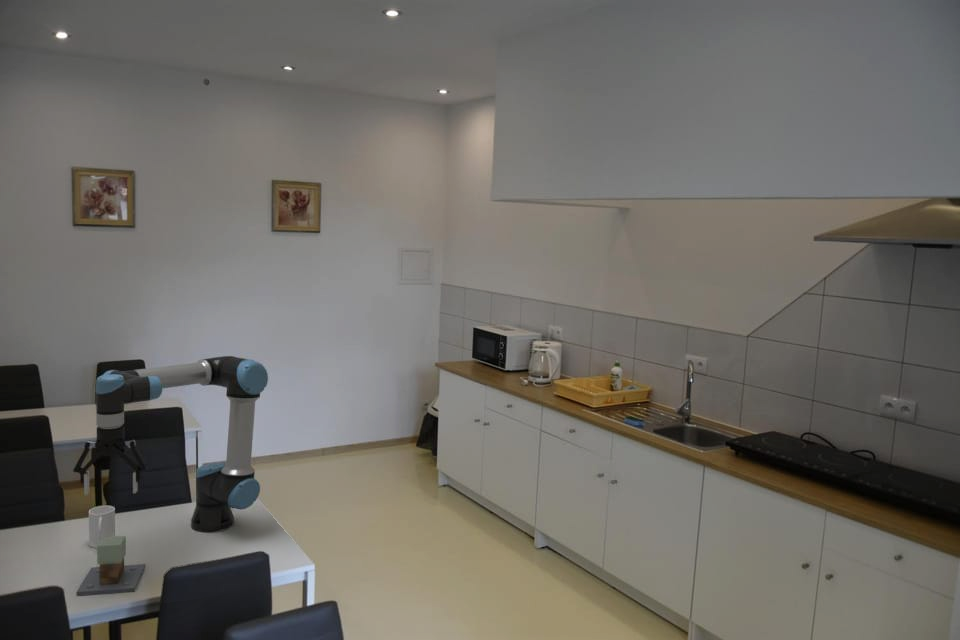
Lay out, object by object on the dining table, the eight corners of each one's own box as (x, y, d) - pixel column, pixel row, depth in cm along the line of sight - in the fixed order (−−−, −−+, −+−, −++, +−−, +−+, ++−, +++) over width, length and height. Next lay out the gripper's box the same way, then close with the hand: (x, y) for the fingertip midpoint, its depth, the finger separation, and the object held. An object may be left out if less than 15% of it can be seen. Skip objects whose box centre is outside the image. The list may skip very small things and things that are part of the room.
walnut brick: (124, 570, 227) (124, 552, 227) (117, 583, 219) (117, 565, 218) (107, 571, 226) (106, 553, 225) (99, 585, 217) (99, 566, 217)
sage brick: (125, 554, 226) (125, 535, 225) (120, 563, 219) (120, 544, 219) (103, 555, 224) (103, 537, 223) (97, 564, 218) (97, 546, 217)
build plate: (145, 567, 232) (145, 563, 232) (134, 591, 217) (134, 587, 217) (91, 570, 228) (91, 566, 228) (76, 595, 213) (76, 591, 213)
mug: (111, 551, 243) (111, 517, 241) (83, 553, 240) (82, 519, 239) (118, 536, 254) (117, 504, 253) (91, 538, 251) (90, 505, 250)
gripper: (157, 421, 224) (157, 486, 226) (68, 423, 217) (70, 489, 220) (152, 428, 216) (152, 495, 219) (60, 429, 210) (62, 498, 213)
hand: (111, 492), depth 219 cm, fingers open, 13 cm apart
